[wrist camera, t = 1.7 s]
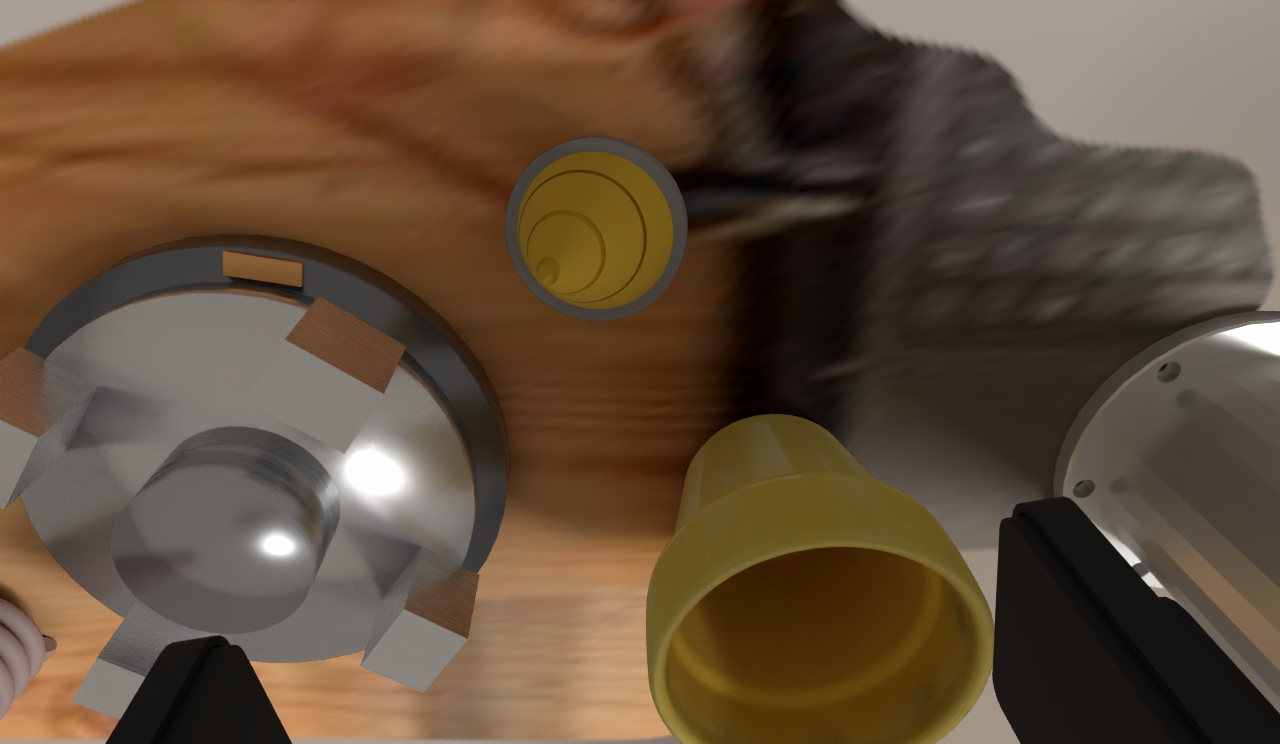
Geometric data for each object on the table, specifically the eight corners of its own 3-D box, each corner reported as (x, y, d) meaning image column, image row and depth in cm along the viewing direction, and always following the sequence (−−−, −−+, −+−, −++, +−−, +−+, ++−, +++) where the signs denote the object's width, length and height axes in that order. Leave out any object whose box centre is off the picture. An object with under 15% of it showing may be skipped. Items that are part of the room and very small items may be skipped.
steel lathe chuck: (411, 244, 26) (379, 297, 22) (519, 607, 33) (509, 695, 29) (-55, 325, 27) (-168, 389, 23) (147, 666, 33) (88, 761, 30)
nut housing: (443, 193, 27) (434, 208, 26) (551, 591, 35) (549, 620, 34) (-63, 280, 28) (-100, 300, 26) (155, 654, 36) (135, 685, 34)
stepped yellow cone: (630, 321, 29) (575, 437, 20) (505, 227, 28) (387, 301, 19) (726, 198, 27) (716, 261, 18) (595, 95, 27) (513, 105, 17)
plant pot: (666, 608, 36) (689, 819, 27) (605, 406, 31) (610, 582, 22) (904, 556, 35) (1006, 754, 26) (878, 341, 31) (992, 497, 22)
